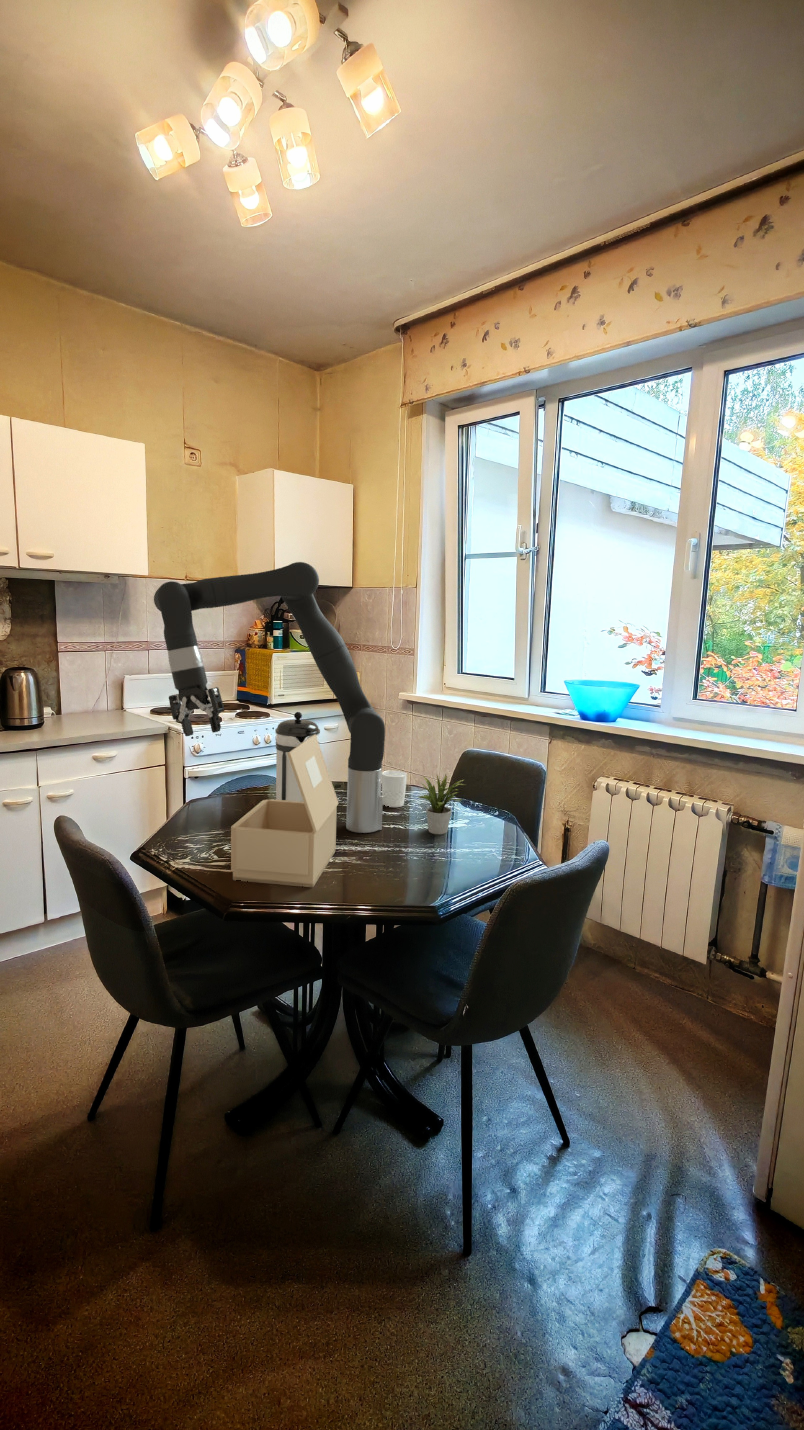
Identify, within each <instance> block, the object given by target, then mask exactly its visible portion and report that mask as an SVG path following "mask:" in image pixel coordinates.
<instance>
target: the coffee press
mask: <svg viewBox="0 0 804 1430" xmlns="http://www.w3.org/2000/svg"><path fill="white" fill-rule="evenodd" d="M293 717H294V719H286V720H283V721H281V722H280V723H278V725H277V726H276V728H275V732H274V733H275V734H276V742H275V749H276V757H275V759H276V760H275V761H276V763H275V764H276V766H275V767H276V768H275V769H276V770H275V771H276V773H275V774H276V776H275V780H276V781H275V782H276V784H275V800H288V801H301V802H304V801H303V798H302V795H301V792H300V789H299V786H298V783H297V781H296V778H295V775H294V772H293V769H292V766H291V763H290V760H289V757H288V754H287V753H289V752H290V751H291V750H293V749H294V748H296V747H297V746H299V745H300V744H301V743H303V742H304V741H306V740H307V739H308V738H310V737H311V736H313V735H315V734H316V737H317V740H318V743H319V744H320V742H319V737H320V734H321V729H320V728H319V726H318V724H317V723H316V722H314V721H313V720H307V719H302V717H303V715H302V713H301V712H300V711H297V712H295V713H294V715H293Z"/></svg>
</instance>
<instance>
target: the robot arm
mask: <svg viewBox="0 0 804 1430" xmlns="http://www.w3.org/2000/svg"><path fill="white" fill-rule="evenodd" d="M319 584H320V576H319V574H318V572H317V570H316V569H315V568H314V566H312V565H311V564H309V563H307V562H305V561H304V562H303V561H296V562H293V563H290V564H288V565H286V566H282V567H280V568H279V567H278V568H276V569H271V570H266V571H261V572H255V573H254V572H253V573H246V574H236V575H226V576H218V577H208V578H202V579H199V580H197V581H194V582H187V583H179V582H178V581H167V582H164V583H162V584H161V585H160V586H158V589H156V591H155V592H154V594H153V595H154V596H153V603H154V606H155V607H156V609H157V610H158V611H159V612H160V613H161V617H162V621H163V625H164V627H163V637H164V642H165V645H166V650H167V657H168V664H169V668H170V672H171V676H172V681H173V684H174V689H175V690H177V692H178V693H175V694H171V695H169V696H168V702H169V706H170V711H171V717H172V719H173V720H174V721H175V720H176V721H179V722H180V723H181V727H182V733H183V734H184V735H185V737H191V736H193V735H194V729H193V725H192V721H191V719H190V718H191V714H192V713H193V711H195V710H201V711H202V712H205V714H207V715H208V721H209V724H210V729H211V733H212V734H215V733H218V732H220V731H221V728H222V727H221V726H222V725H221V722H220V717H219V715H220V714H221V713H222V712H224V711H225V705H224V704H223V703H224V702H223V698H222V696H221V692H220V689H219V687H218V686H215V687H211V688H208V686H207V684H208V677H207V675H206V674H207V673H206V669H205V666H204V661H203V657H202V654H201V651H200V648H199V644H198V641H197V640H198V639H197V635H196V631H195V629H194V625H193V611H198V610H203V609H213V608H214V609H215V608H222V607H227V606H233V605H238V604H239V605H240V604H243V603H247V602H251V601H256V600H259V599H265V598H273V597H280V598H281V599H282V601H284V603H285V605H286V606H287V608H288V610H289V612H290V613H291V615H292V616H293V618H294V620H295V622H296V624H297V625H298V628H299V630H300V632H301V634H302V637H303V638H304V641H305V643H306V645H307V647H308V649H309V652H310V653H311V656H312V658H313V660H314V662H315V664H316V666H317V668H318V670H319V673H320V674H321V676H322V677H323V680H324V681H325V682H326V685H327V686H328V687H329V689H330V690H331V692H332V694H333V695H334V696H335V698H336V700H337V702H338V704H339V706H340V709H341V711H342V713H343V717H344V720H345V723H346V726H347V729H348V732H349V733H350V745H349V756H348V759H347V760H348V761H347V787H346V788H347V791H346V792H347V794H346V819H345V822H346V825H345V827H346V829H347V830H348V831H349V832H353V833H359V834H362V833H363V834H367V833H374V832H377V831H381V830H382V829H383V828H382V827H383V806H384V805H383V796H382V772H383V771H382V770H383V767H382V766H383V760H384V756H385V754H384V753H385V744H386V743H385V741H386V739H385V738H386V727H385V725H386V724H385V722H384V719H383V718H382V717H381V715H380V714H379V713H377V711H375V709H374V707H372V704H370V702H369V700H368V698H367V696H366V694H365V692H364V691H363V688H362V686H361V684H360V679H359V676H358V673H357V669H356V666H355V663H354V661H353V658H352V656H351V653H350V651H349V649H348V647H347V645H346V643H345V640H344V639H343V637H342V636H341V634H340V633H339V632H338V631H337V629H336V628H335V626H334V625H333V624H332V623H331V622H330V621H329V620H328V619H327V618H326V617H325V615H324V614H323V613H322V612H323V611H321V609H320V607H319V605H318V603H317V600H316V598H315V596H314V594H315V592H316V591H317V589H318V587H319Z"/></svg>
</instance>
